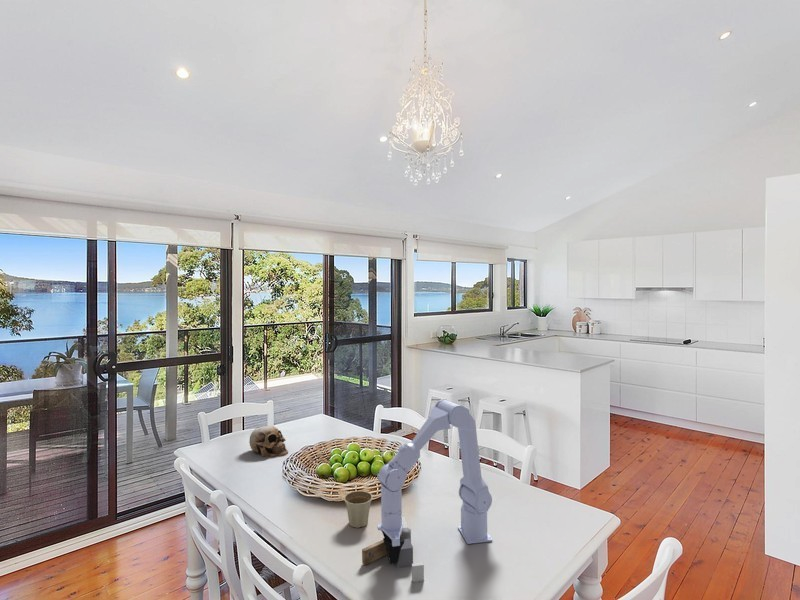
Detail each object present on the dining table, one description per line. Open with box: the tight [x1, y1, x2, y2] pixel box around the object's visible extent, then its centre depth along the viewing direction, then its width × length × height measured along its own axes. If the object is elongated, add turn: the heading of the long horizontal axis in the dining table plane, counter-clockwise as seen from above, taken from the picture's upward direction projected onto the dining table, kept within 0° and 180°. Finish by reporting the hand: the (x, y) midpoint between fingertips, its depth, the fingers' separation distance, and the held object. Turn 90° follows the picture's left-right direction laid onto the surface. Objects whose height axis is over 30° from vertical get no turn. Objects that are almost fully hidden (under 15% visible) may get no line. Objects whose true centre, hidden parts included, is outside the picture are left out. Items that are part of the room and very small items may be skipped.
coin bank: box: [249, 425, 289, 458], centre depth 207 cm, size 16×17×13 cm
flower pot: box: [343, 490, 374, 528], centre depth 142 cm, size 9×9×9 cm
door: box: [361, 533, 402, 566], centre depth 124 cm, size 14×2×4 cm, turn 129°
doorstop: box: [395, 539, 414, 568], centre depth 121 cm, size 4×4×5 cm
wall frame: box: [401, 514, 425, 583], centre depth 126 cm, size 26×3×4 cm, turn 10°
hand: (392, 557), depth 121 cm, fingers open, 5 cm apart
